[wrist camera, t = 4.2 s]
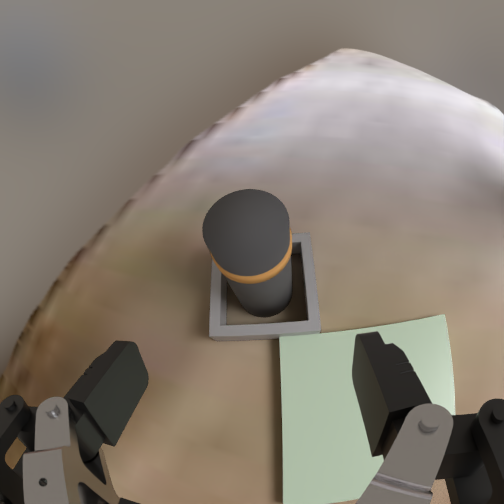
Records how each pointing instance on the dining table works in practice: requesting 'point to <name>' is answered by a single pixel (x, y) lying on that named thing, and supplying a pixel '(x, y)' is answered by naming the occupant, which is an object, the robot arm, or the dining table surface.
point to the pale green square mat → (346, 406)
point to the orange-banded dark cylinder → (252, 249)
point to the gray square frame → (270, 330)
